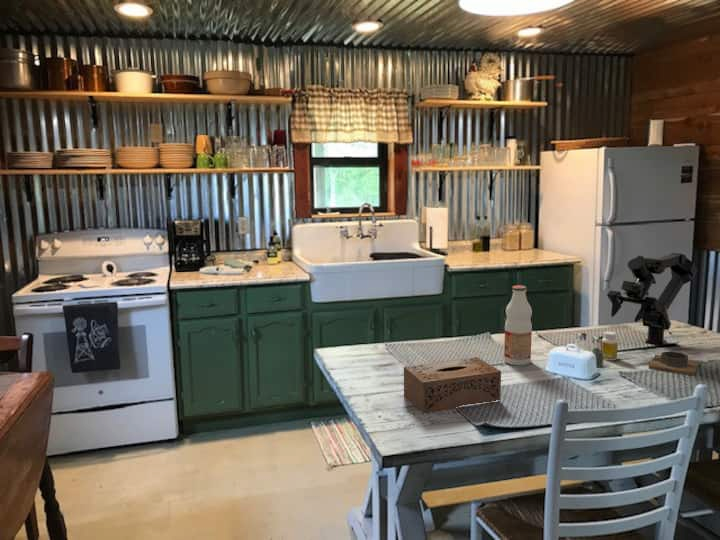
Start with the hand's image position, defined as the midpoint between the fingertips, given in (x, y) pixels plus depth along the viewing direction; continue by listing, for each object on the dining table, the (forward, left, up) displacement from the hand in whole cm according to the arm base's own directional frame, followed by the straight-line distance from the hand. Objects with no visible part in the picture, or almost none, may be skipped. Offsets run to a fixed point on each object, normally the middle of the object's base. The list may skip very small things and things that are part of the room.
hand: (623, 318), depth 221 cm
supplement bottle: (+8, -3, -14) cm, 16 cm away
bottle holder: (+5, +18, -14) cm, 23 cm away
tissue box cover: (+73, -35, -14) cm, 82 cm away
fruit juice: (+29, -30, -14) cm, 44 cm away
